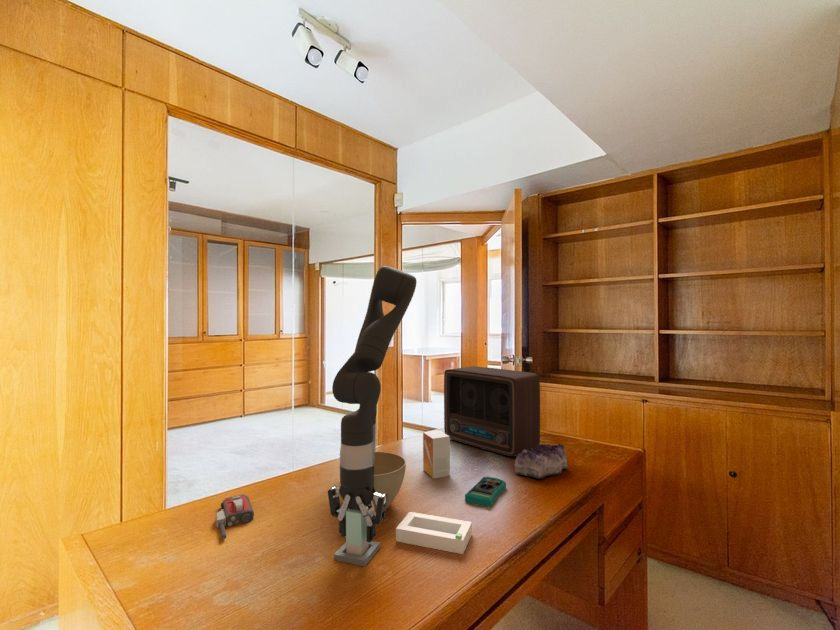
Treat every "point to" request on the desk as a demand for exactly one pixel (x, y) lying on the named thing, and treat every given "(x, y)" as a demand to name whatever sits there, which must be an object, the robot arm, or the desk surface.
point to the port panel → (434, 532)
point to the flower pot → (388, 475)
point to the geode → (541, 461)
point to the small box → (436, 453)
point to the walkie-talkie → (234, 512)
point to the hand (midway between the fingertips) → (357, 537)
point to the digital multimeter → (485, 491)
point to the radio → (492, 408)
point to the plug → (356, 533)
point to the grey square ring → (357, 560)
